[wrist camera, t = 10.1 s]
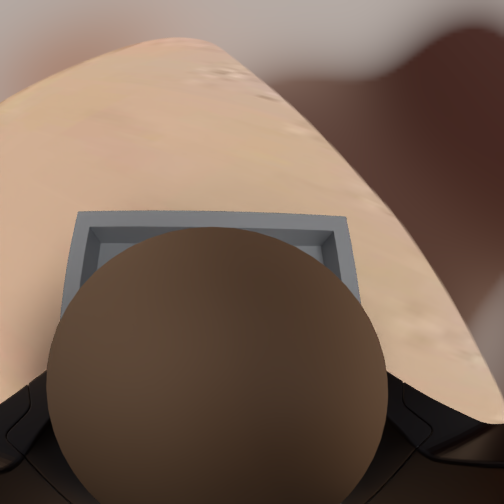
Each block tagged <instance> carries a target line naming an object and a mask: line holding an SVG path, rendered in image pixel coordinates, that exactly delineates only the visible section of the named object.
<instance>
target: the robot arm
mask: <svg viewBox="0 0 504 504" xmlns="http://www.w3.org/2000/svg"><path fill="white" fill-rule="evenodd" d="M386 372H387V371H386ZM387 379H388V404H387V414H386V421H385V425H384V429H383V433H382V437H381V440H380V443H379V445H378V448H377V450H376V453H375V455H374V458H373V460H372V462H371V463H370V465H369V467H368V469H367V471H366V472H365V474H364V476H363V477H362V479H361V480H360V481H359V483H358V484H357V485H356V487H355V488H354V489H353V491H352V492H351V493H350V494H349V495H348V496H347V497H346V498H345V499H344V500H343V501H342V502H341V504H504V424H487V423H483V422H480V421H478V420H475V419H473V418H471V417H469V416H467V415H465V414H462V413H460V412H458V411H456V410H454V409H452V408H450V407H448V406H446V405H444V404H442V403H440V402H438V401H436V400H434V399H432V398H430V397H428V396H426V395H425V394H423V393H421V392H420V391H418V390H416V389H414V388H413V387H411V386H410V385H408V384H406V383H403V381H401V380H400V379H398V378H397V377H395V376H393V375H392V374H390V373H389V372H387ZM46 382H47V370H46V371H45V372H43V373H42V374H41V375H39V376H38V377H37V378H35V379H34V380H33V381H31V382H30V383H29V386H28V385H26V386H25V387H23V388H22V389H21V390H19V391H18V392H17V393H15V394H14V395H12V396H11V397H10V398H8V399H7V400H5V401H4V402H2V403H1V404H0V504H100V503H99V502H98V501H97V500H96V499H95V498H94V497H93V496H92V495H91V494H90V493H89V492H88V491H87V489H86V488H85V487H84V486H83V484H82V483H81V482H80V480H79V479H78V478H77V476H76V475H75V474H74V472H73V471H72V469H71V467H70V466H69V464H68V462H67V460H66V459H65V457H64V455H63V453H62V451H61V449H60V446H59V444H58V441H57V439H56V436H55V434H54V431H53V427H52V423H51V419H50V415H49V410H48V401H47V391H46Z"/></svg>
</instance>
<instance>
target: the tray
mask: <svg viewBox="0 0 504 504" xmlns="http://www.w3.org/2000/svg"><path fill="white" fill-rule="evenodd" d="M199 227H225V228H237V229H242V230H248V231H253V232H257V233H261V234H264V235H267V236H270V237H274V238H277V239H279V240H281V241H283V242H286V243H288V244H290V245H293V246H295V247H297V248H298V249H300V250H302V251H303V252H305V253H307V254H309V255H310V256H312V257H314V258H315V259H316V260H318V261H319V262H320V263H322V264H323V265H324V266H325V267H327V268H328V269H329V270H331V271H332V272H333V273H334V274H335V275H336V276H337V277H338V278H339V279H340V280H341V281H342V282H343V283H344V284H345V285H346V286H347V287H348V289H349V290H350V291H351V292H352V294H353V295H354V296H355V297H356V299H357V300H358V301H359V303H360V304H361V301H360V294H359V287H358V281H357V274H356V268H355V262H354V256H353V251H352V245H351V240H350V234H349V229H348V224H347V219H346V217H343V216H327V215H308V214H287V213H261V212H227V211H84V212H78V215H77V219H76V223H75V228H74V232H73V237H72V242H71V247H70V252H69V257H68V263H67V269H66V276H65V282H64V290H63V298H62V306H61V316H60V320H61V318H62V316H63V314H64V312H65V310H66V308H67V306H68V305H69V303H70V302H71V300H72V299H73V297H74V296H75V295H76V293H77V292H78V290H79V289H80V288H81V287H82V285H83V284H84V283H85V282H86V281H87V280H88V279H89V278H90V277H91V276H92V275H93V274H94V272H96V271H97V270H98V269H99V268H100V267H102V266H103V265H104V264H105V263H106V262H108V261H109V260H110V259H112V258H113V257H115V256H116V255H118V254H119V253H121V252H123V251H124V250H126V249H127V248H129V247H131V246H133V245H135V244H138V243H140V242H142V241H144V240H146V239H149V238H152V237H155V236H158V235H161V234H164V233H168V232H172V231H177V230H183V229H188V228H199ZM340 504H341V503H340Z"/></svg>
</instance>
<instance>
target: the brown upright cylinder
mask: <svg viewBox="0 0 504 504" xmlns="http://www.w3.org/2000/svg"><path fill="white" fill-rule="evenodd" d="M46 391H47V401H48V410H49V415H50V419H51V423H52V427H53V431H54V434H55V436H56V439H57V441H58V444H59V446H60V449H61V451H62V453H63V455H64V457H65V459H66V460H67V462H68V464H69V466H70V467H71V469H72V471H73V472H74V474H75V475H76V476H77V478H78V479H79V480H80V482H81V483H82V484H83V486H84V487H85V488H86V489H87V491H88V492H89V493H90V494H91V495H92V496H93V497H94V498H95V499H96V500H97V501H98V502H99V503H100V504H340V503H341V502H342V501H343V500H344V499H345V498H346V497H347V496H348V495H349V494H350V493H351V492H352V491H353V489H354V488H355V487H356V485H357V484H358V483H359V481H360V480H361V479H362V477H363V476H364V474H365V472H366V471H367V469H368V467H369V465H370V463H371V462H372V460H373V458H374V455H375V453H376V450H377V448H378V445H379V443H380V440H381V437H382V433H383V429H384V425H385V421H386V414H387V404H388V379H387V372H386V366H385V360H384V356H383V352H382V349H381V346H380V342H379V339H378V337H377V334H376V332H375V330H374V328H373V325H372V323H371V321H370V319H369V317H368V316H367V314H366V312H365V311H364V309H363V307H362V306H361V304H360V303H359V301H358V300H357V299H356V297H355V296H354V295H353V294H352V292H351V291H350V290H349V289H348V287H347V286H346V285H345V284H344V283H343V282H342V281H341V280H340V279H339V278H338V277H337V276H336V275H335V274H334V273H333V272H332V271H331V270H329V269H328V268H327V267H325V266H324V265H323V264H322V263H320V262H319V261H318V260H316V259H315V258H314V257H312V256H310V255H309V254H307V253H305V252H303V251H302V250H300V249H298V248H297V247H295V246H293V245H290V244H288V243H286V242H283V241H281V240H279V239H277V238H274V237H270V236H267V235H264V234H261V233H257V232H253V231H248V230H242V229H237V228H225V227H199V228H188V229H183V230H177V231H172V232H168V233H164V234H161V235H158V236H155V237H152V238H149V239H146V240H144V241H142V242H140V243H138V244H135V245H133V246H131V247H129V248H127V249H126V250H124V251H123V252H121V253H119V254H118V255H116V256H115V257H113V258H112V259H110V260H109V261H108V262H106V263H105V264H104V265H103V266H102V267H100V268H99V269H98V270H97V271H96V272H94V274H93V275H92V276H91V277H90V278H89V279H88V280H87V281H86V282H85V283H84V284H83V285H82V287H81V288H80V289H79V290H78V292H77V293H76V295H75V296H74V297H73V299H72V300H71V302H70V303H69V305H68V306H67V308H66V310H65V312H64V314H63V316H62V318H61V320H60V322H59V324H58V327H57V329H56V332H55V335H54V338H53V341H52V344H51V349H50V354H49V359H48V365H47V382H46Z"/></svg>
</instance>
